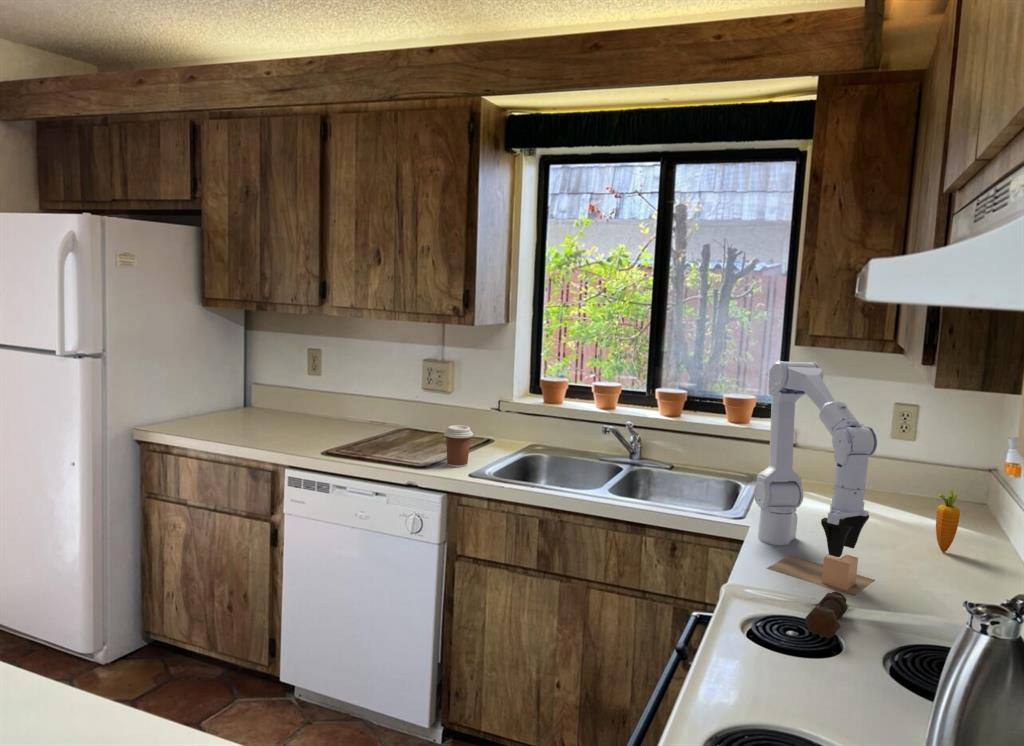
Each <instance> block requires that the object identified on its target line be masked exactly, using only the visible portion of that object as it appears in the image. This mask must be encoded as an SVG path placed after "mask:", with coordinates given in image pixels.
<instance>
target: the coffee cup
mask: <svg viewBox="0 0 1024 746" xmlns="http://www.w3.org/2000/svg"><path fill="white" fill-rule="evenodd" d="M443 435H444V436H445V440H446V441H445V442H446V466H448V467H451V468H466V467H467V466H468V463H469V462H468V461H469V454H470V446H471V445H470V444H471V440H472V437H473V436H474V433H473V432H472V430H471V428H470V426H467V425H463V424H462V425H461V424H454V425H448V426H447V429H446V430H445V431H444V433H443Z"/></svg>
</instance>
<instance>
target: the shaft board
mask: <svg viewBox="0 0 1024 746" xmlns="http://www.w3.org/2000/svg"><path fill="white" fill-rule="evenodd" d="M766 569H768V570H771V571H774V572H776V573H779V574H783V575H787V576H790V577H792V578H796V579H800V580H803V581H806V582H809V583H812V584H815V585H819V586H820V587H824V588H827V589H831V590H834V591H836V592H839V593H844V594H847V595H851V596H853V597H854V596H856V595H857V594H859V593H860V592H861V591H862V590H864V589H865V588H866V587H868V586H869V585H870V584H872V583H873V582H874V581H875V579H873V578H870V577H866V576H863V575H860V574H858V573H857V574H856V582H855V584H854V585H853V586H852V587H850V588H849V589H848V590H844V589H841V588H837V587H834V586H831V585H828V584H824V583H821V581H822V572H823V563H819V562H815V561H812V560H808V559H805V558H802V557H798V556H797V555H796V556H795V555H792V554H789V555H787V556H785V557H784V558H782V559H780V560H779V561H777V562H775V563H773V564H771V565H769V566H768V567H766Z"/></svg>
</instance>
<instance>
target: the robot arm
mask: <svg viewBox="0 0 1024 746" xmlns="http://www.w3.org/2000/svg"><path fill="white" fill-rule="evenodd" d="M768 395H769V396H771V406H770V408H771V411H770V428H769V429H770V430H769V431H770V433H769V435H770V436H769V454H768V456H769V457H768V459H769V460H768V466H767V467H766V468H765V469H764V470H762V471H760V472H759V473H758V474H757V476H756V483H755V486H754V488H753V497H754V501H755V503H756V504H757V506H758V507H759V508H760V511H759V512H760V513H759V522H758V531H757V539H758V540H759V541H761V542H763V543H766V544H769V545H775V546H787V545H790V543H791V542H792V541H793V540H795V539H796V538H797V529H798V528H797V526H798V515H797V508H799V507H801V505H802V503H803V502H804V489H803V484H802V477H801V476H800V475H799V474H798V473H797V472H796V471H795V470H794V469H793V463H794V462H793V459H794V458H793V456H794V439H795V438H794V437H795V417H796V416H795V415H796V414H795V413H796V402H797V401H798V400H799V399H800V398H801V397H803V396H807V397H808V398H809V399H810V400H811V401H812V402H813V404H814V405H815V406H816V407H817V408H818V409H819V414H818V417H819V420H820V421H821V423H822V424H823V425H824V427H825V429H827V431H828V432H829V434H830V435H831V436H832V438H831V445H832V449H833V459H834V462H835V463H836V464H835V471H834V479H833V480H834V482H833V488H832V490H833V491H832V497H831V504H830V506H829V512H828V513H827V517H823V518H821V519H820V524H821V526H822V528H823V531H824V534H825V538H826V545H827V551H828V554H829V555H832V556H835V557H840V556H841V554H842V553H843V552H844V547H847V548H850V549H855V547H856V545H857V542H858V540H859V538H860V534H861V532H862V530H863V527H864V525H865V524H866V523H867V522H868V520H869V519H870V514H869V510H865V509H864V508H865V501H864V499H865V491H866V482H867V473H868V466H869V457H870V456H872V455H874V453H875V452H876V450H877V448H878V447H877V446H878V437H877V434H876V433H875V430H874V429H873V427H871V426H869V425H867V426H865V424H861V423H860V422H859V421H858V419H857V418H856V417H855V415H854V414H853V412H851V411H850V409H849V408H848V405H847V404H846V402H843V401H839V400H837V401H836V400H835V398H834V397H833V395H832V393H831V392H830V390H829V389H828V386H827V385H826V384H825V382H824V370H823V369H822V368H821V366H820V365H819V363H817V361H809V362H807V361H804V362H801V361H782V360H777V361H775V363H774V364H773V365H772V366H771V367H770V369H769V374H768Z"/></svg>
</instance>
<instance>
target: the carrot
mask: <svg viewBox="0 0 1024 746" xmlns="http://www.w3.org/2000/svg"><path fill="white" fill-rule="evenodd" d="M938 496H939V497H940V498H941V499H943V501H944V503H945V504H940V505H938V508H937V509H936V510H937V511H936V516H935V533H936V541H937V544H938V547H939V549H940V551H941V552H942V553H943V552H944V553H946V552H947V551H948V549H949V548H950V547H951V545H952V544H953V542H954V539H955V537H956V534H957V531H958V528H959V522H960V516H961V510H960V508H958V507H956V506H954V503H955V502H956V500H957V498H958V495H957V494H956V493H954V491H953V490H952V489H949V490H948V497H946V496H945V495H943V494H942V493H940V494H938Z"/></svg>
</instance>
